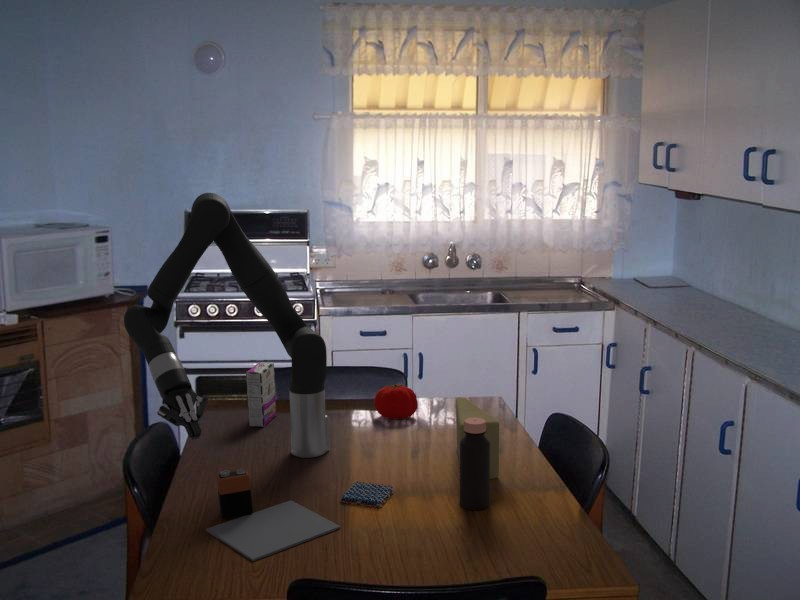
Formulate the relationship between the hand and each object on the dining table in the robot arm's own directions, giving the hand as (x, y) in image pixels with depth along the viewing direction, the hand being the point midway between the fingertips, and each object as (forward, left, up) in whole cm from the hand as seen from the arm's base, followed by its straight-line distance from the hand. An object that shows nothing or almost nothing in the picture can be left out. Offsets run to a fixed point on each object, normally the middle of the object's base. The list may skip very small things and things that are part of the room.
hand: (196, 437), depth 210 cm
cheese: (-60, +30, -14) cm, 69 cm away
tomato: (-71, -11, -14) cm, 73 cm away
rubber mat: (-2, +28, -14) cm, 31 cm away
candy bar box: (-40, -35, -14) cm, 55 cm away
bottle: (-43, +48, -14) cm, 66 cm away
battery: (0, +16, -14) cm, 21 cm away
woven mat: (-28, +28, -15) cm, 42 cm away
